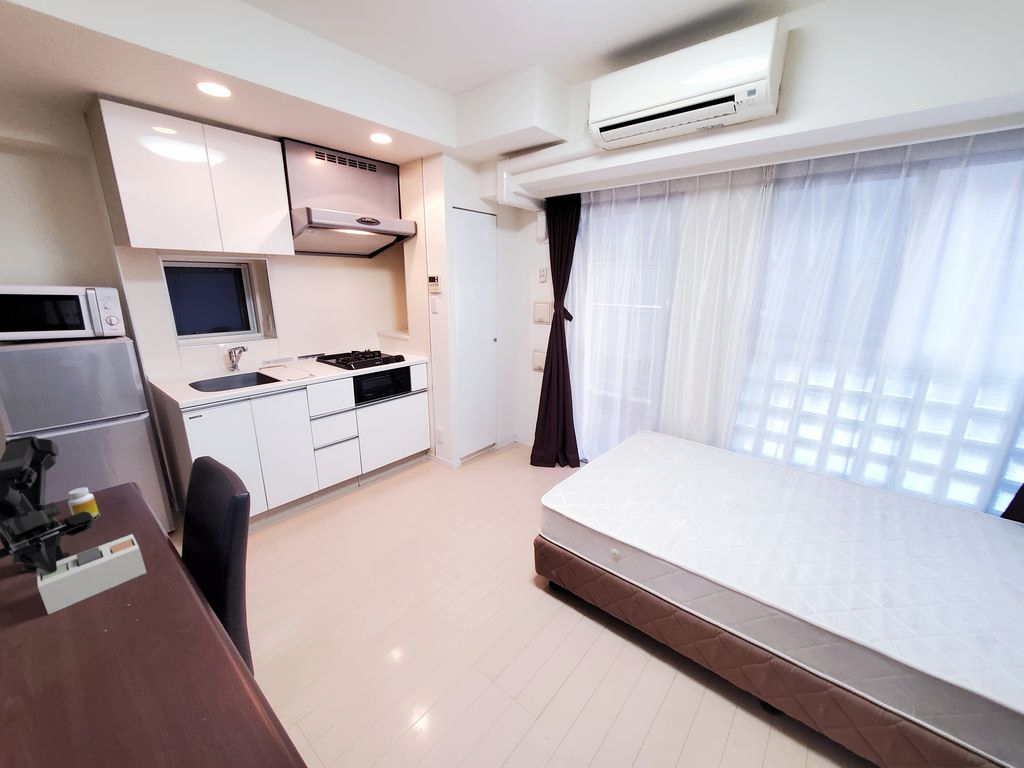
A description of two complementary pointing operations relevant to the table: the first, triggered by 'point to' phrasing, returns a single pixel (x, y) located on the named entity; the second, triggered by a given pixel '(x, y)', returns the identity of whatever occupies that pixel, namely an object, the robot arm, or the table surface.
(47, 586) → the button console
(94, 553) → the charcoal button
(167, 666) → the table surface
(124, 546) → the terracotta button
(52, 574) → the sage-green button
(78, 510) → the supplement bottle
